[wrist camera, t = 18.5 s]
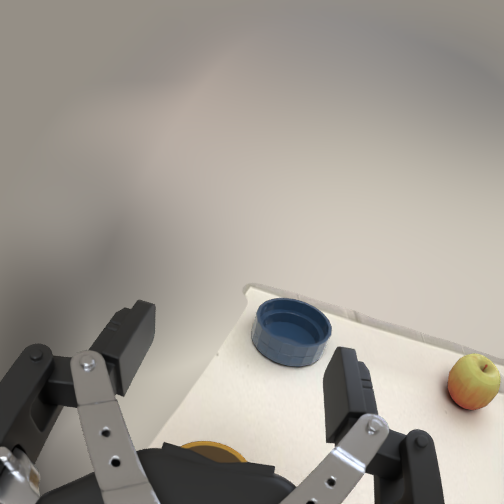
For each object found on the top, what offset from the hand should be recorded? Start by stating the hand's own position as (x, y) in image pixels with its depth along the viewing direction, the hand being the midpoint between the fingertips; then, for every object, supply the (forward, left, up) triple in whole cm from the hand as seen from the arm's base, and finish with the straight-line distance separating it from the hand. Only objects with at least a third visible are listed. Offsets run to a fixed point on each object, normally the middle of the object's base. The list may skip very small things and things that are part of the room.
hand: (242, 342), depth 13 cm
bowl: (+12, +26, -23) cm, 37 cm away
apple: (+42, +13, -23) cm, 49 cm away
